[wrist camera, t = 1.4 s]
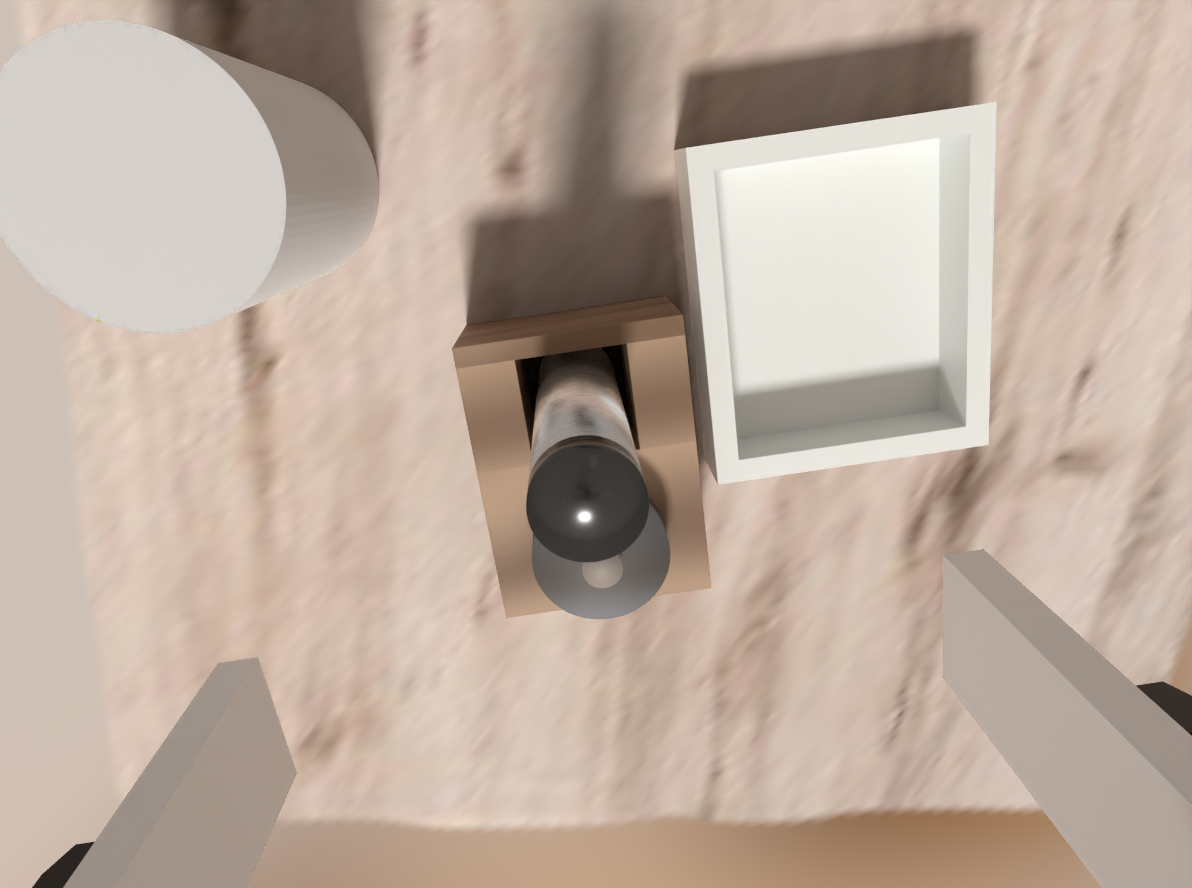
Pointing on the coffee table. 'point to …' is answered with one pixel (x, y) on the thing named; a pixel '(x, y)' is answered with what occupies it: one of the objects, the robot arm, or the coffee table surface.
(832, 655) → the coffee table surface
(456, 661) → the coffee table surface
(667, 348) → the block
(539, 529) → the pin
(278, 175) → the white cylinder
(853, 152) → the tray
